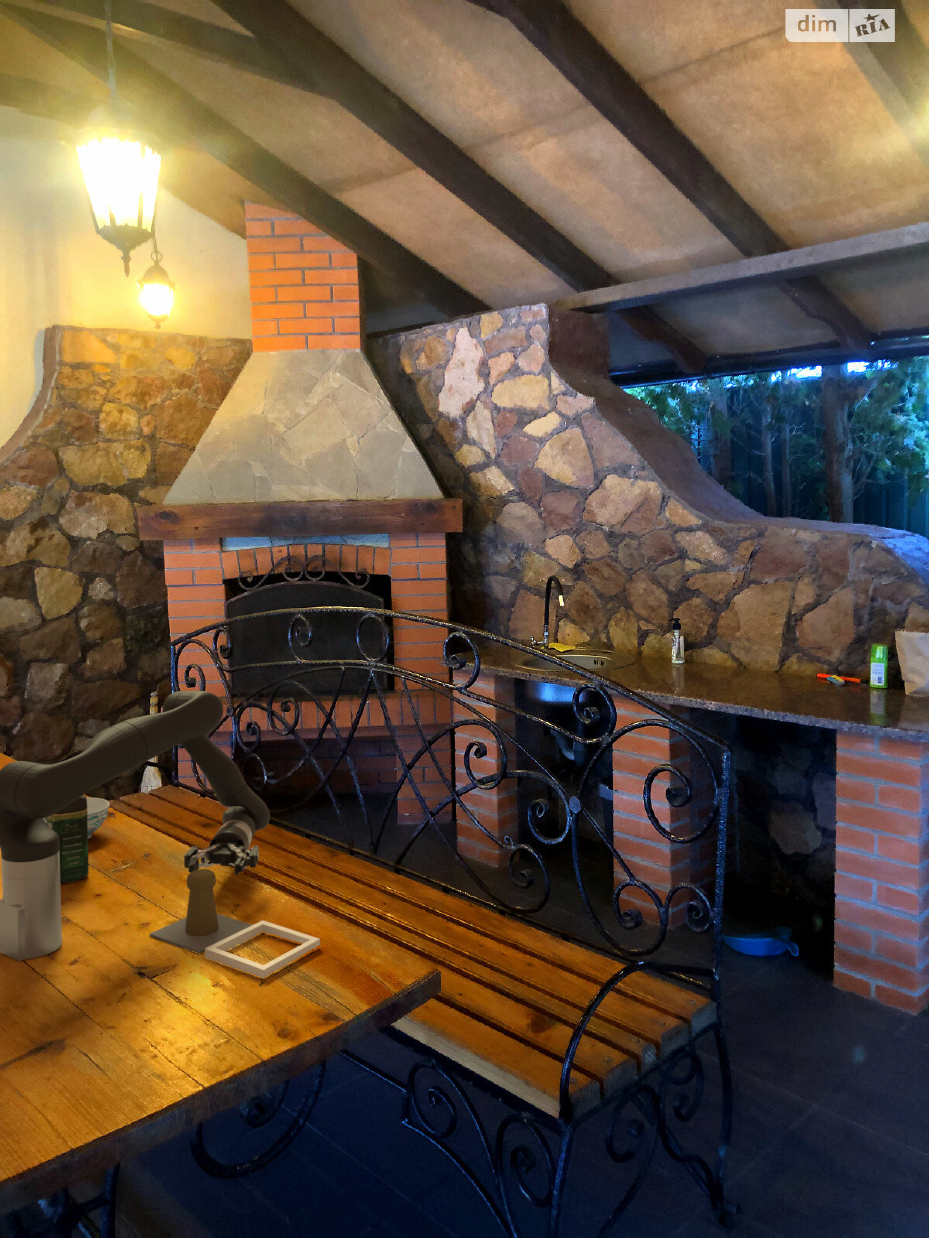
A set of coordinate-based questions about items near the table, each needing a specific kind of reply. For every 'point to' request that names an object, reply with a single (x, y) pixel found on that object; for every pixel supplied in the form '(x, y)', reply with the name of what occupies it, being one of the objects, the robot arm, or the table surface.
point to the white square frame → (219, 949)
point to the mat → (198, 943)
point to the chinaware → (95, 813)
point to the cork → (201, 904)
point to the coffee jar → (72, 839)
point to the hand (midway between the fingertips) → (214, 869)
